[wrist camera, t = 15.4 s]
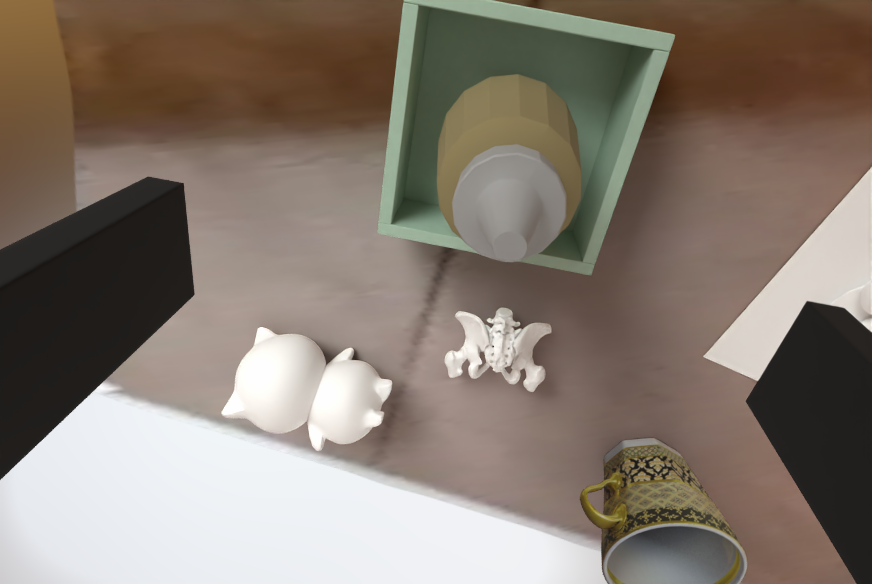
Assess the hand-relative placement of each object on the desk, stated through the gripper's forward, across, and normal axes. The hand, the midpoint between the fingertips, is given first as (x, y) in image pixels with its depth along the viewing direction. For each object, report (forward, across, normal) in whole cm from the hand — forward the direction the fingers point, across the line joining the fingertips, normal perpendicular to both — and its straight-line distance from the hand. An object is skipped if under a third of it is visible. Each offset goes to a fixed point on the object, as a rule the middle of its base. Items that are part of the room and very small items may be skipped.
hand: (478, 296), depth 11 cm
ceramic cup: (+25, +18, -28) cm, 41 cm away
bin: (+25, +1, -1) cm, 25 cm away
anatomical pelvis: (+25, +4, -17) cm, 31 cm away
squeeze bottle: (+25, +1, -2) cm, 25 cm away
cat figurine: (+25, -10, -24) cm, 36 cm away
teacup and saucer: (+25, +32, -9) cm, 42 cm away
